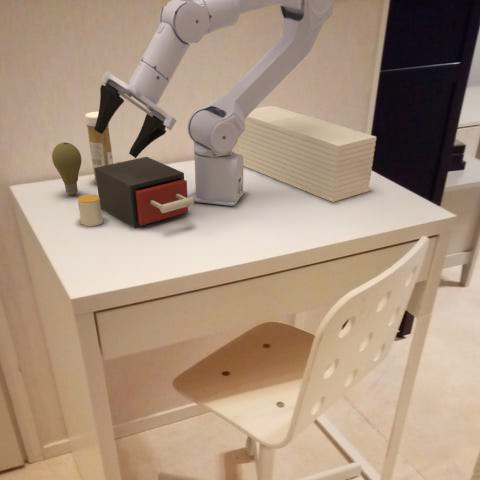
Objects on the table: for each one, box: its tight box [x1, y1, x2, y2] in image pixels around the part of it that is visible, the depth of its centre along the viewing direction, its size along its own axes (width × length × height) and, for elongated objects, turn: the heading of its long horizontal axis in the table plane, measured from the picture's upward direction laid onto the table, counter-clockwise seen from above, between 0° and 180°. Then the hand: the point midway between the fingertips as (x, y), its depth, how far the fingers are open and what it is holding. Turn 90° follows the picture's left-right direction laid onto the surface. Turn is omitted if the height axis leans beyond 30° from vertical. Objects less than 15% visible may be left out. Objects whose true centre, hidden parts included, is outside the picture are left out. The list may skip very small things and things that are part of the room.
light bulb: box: [51, 142, 82, 197], centre depth 121 cm, size 6×6×10 cm
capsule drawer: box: [134, 179, 195, 226], centre depth 113 cm, size 16×10×6 cm, turn 40°
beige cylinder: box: [77, 194, 104, 227], centre depth 112 cm, size 4×4×4 cm
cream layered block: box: [234, 105, 377, 203], centre depth 131 cm, size 32×11×11 cm, turn 38°
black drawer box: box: [95, 156, 186, 229], centre depth 115 cm, size 13×12×8 cm
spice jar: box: [84, 111, 114, 185], centre depth 126 cm, size 5×5×14 cm
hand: (115, 143), depth 108 cm, fingers open, 7 cm apart
